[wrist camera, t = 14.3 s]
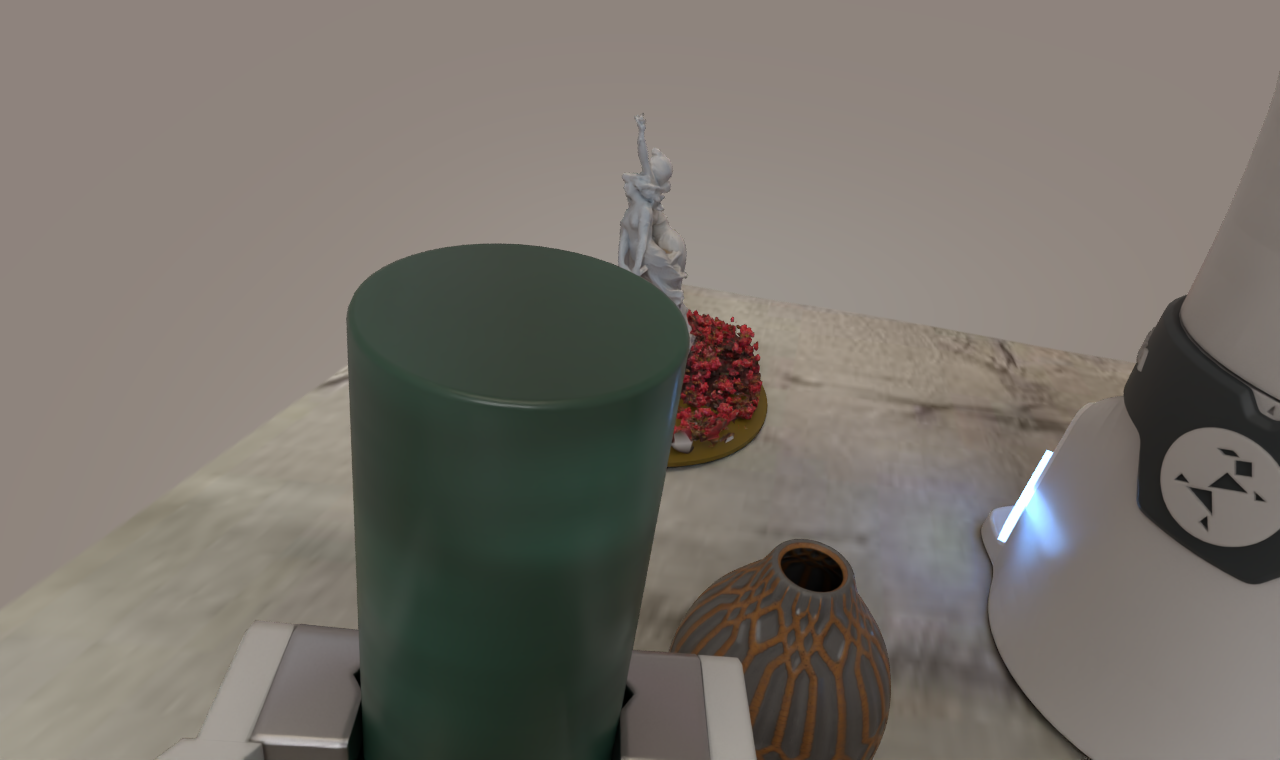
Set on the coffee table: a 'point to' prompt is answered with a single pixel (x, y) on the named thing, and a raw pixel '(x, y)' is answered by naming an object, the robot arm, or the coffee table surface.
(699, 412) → the figurine
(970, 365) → the coffee table surface
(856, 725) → the vase
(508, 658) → the green pillar on base
